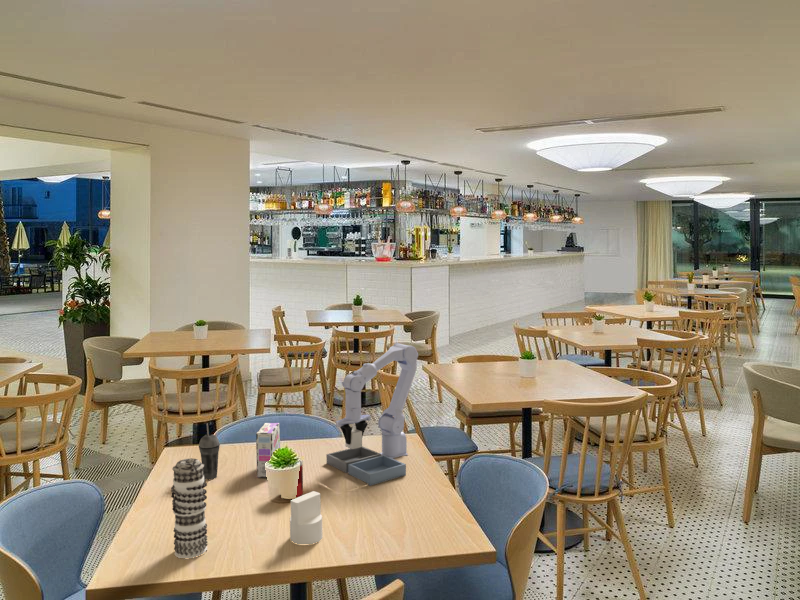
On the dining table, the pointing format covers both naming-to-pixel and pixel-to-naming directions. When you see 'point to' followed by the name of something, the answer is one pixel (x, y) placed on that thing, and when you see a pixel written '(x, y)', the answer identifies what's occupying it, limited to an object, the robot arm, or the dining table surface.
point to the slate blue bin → (377, 469)
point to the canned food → (300, 481)
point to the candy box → (266, 445)
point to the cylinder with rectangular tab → (306, 519)
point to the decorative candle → (189, 508)
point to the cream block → (355, 439)
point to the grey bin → (350, 457)
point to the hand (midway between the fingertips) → (353, 442)
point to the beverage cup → (209, 454)
